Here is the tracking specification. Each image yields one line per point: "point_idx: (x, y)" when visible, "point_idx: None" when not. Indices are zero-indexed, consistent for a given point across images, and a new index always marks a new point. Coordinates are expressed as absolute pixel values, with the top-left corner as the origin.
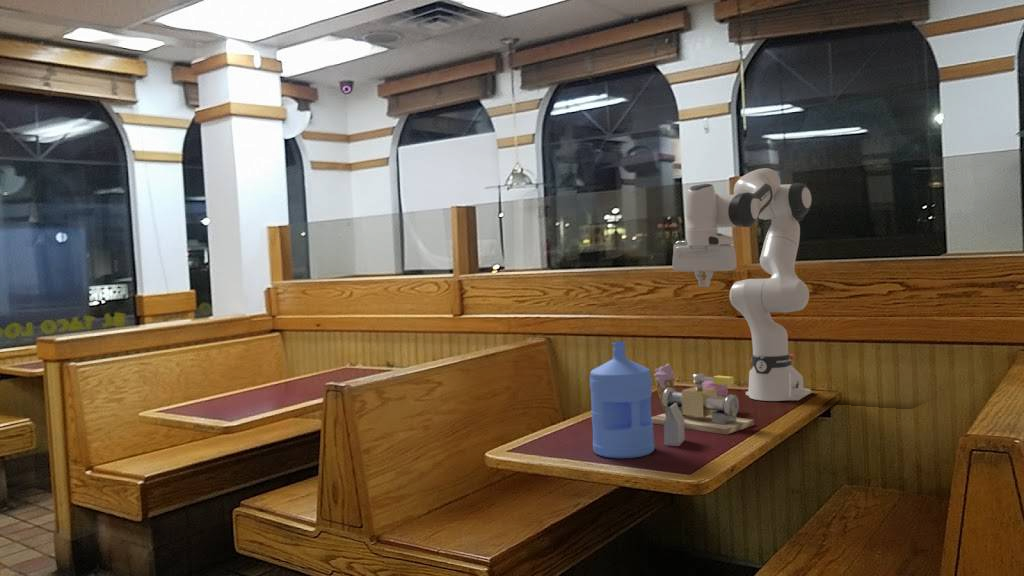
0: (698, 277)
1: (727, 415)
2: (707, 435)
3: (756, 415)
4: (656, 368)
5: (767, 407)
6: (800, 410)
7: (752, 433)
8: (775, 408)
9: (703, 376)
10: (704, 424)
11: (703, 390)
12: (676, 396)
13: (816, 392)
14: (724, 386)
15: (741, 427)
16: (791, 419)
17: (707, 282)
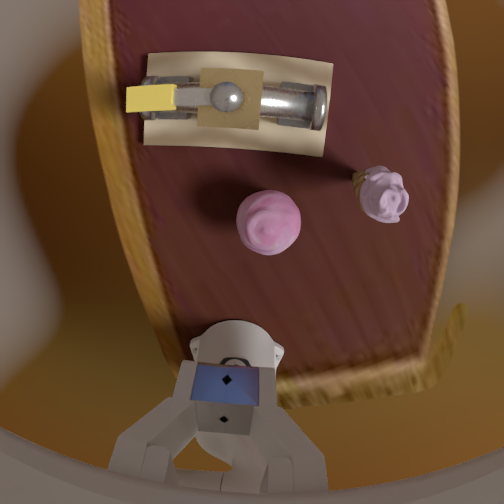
0: (273, 433)
1: None
2: (177, 32)
3: (183, 217)
4: (404, 189)
5: (203, 282)
6: (147, 283)
7: (120, 89)
8: (187, 281)
9: (210, 97)
10: (201, 61)
11: None
12: (289, 90)
13: None
14: (241, 231)
15: None
16: (121, 216)
17: (178, 391)
